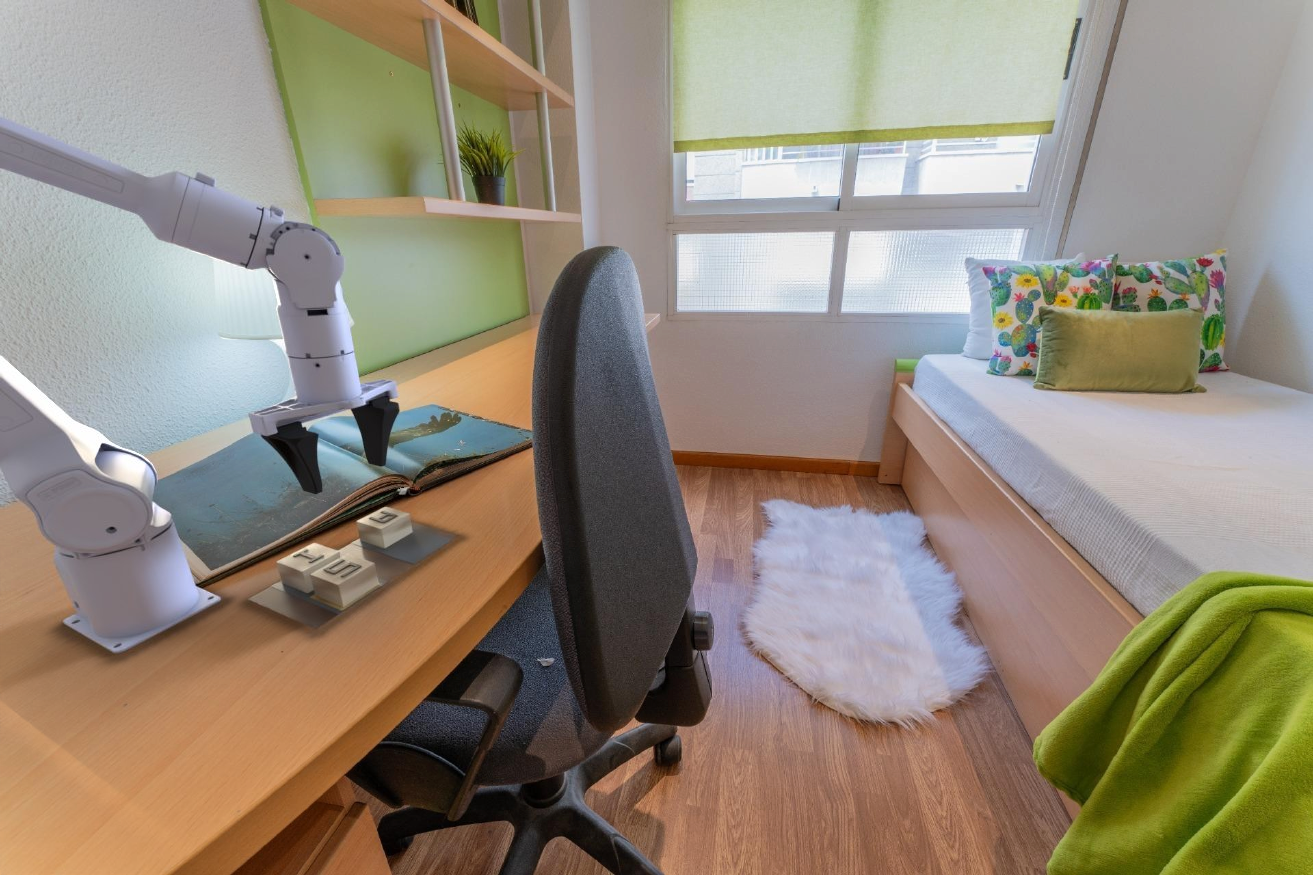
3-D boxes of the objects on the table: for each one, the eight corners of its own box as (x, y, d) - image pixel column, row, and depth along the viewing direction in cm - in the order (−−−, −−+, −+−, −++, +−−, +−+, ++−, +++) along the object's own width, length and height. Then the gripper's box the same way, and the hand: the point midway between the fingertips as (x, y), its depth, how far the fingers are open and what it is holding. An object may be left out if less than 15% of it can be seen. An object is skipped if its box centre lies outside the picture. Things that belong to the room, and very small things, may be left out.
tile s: (315, 596, 51) (309, 573, 50) (351, 574, 55) (347, 552, 54) (343, 607, 50) (337, 583, 49) (379, 584, 53) (374, 561, 52)
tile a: (360, 540, 61) (355, 520, 60) (388, 525, 64) (385, 505, 63) (384, 548, 59) (380, 528, 58) (412, 532, 63) (409, 512, 62)
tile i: (281, 583, 53) (275, 560, 52) (319, 562, 57) (313, 541, 56) (307, 593, 52) (301, 570, 51) (344, 572, 55) (339, 550, 54)
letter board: (248, 602, 51) (247, 598, 51) (399, 519, 66) (399, 516, 66) (316, 632, 47) (315, 628, 47) (460, 538, 63) (459, 534, 62)
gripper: (271, 372, 44) (305, 514, 49) (410, 345, 56) (426, 460, 61) (220, 363, 46) (258, 498, 51) (364, 339, 59) (383, 449, 64)
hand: (346, 477), depth 56 cm, fingers open, 7 cm apart
